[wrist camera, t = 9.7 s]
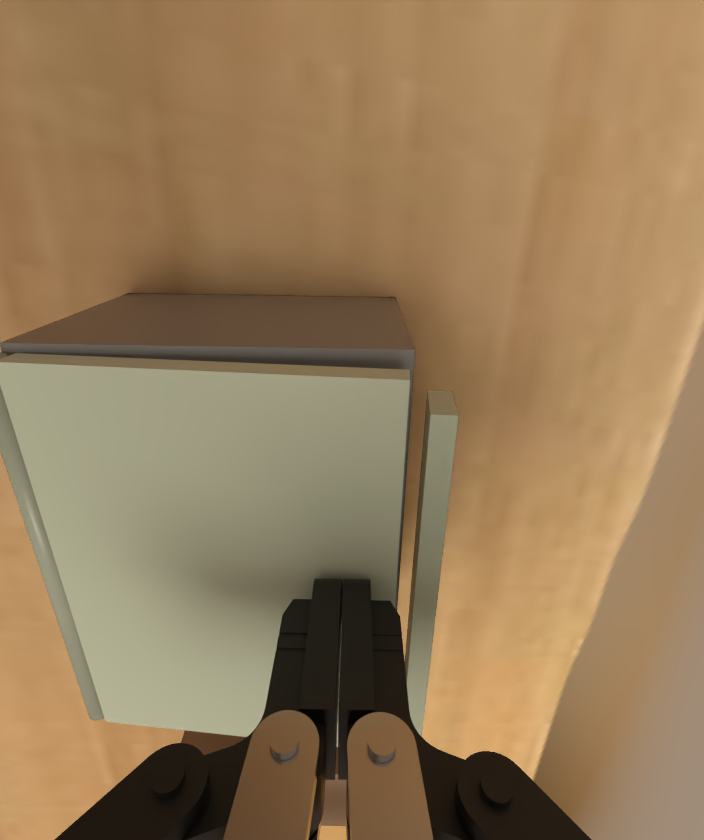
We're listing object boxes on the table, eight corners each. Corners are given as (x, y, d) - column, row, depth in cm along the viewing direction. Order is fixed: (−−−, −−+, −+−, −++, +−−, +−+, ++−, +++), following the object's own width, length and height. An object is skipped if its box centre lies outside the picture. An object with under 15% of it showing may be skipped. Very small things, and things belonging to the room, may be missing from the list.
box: (128, 293, 18) (-1, 343, 11) (395, 297, 18) (415, 349, 11) (177, 565, 23) (107, 701, 17) (382, 569, 23) (390, 708, 17)
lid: (14, 341, 12) (-38, 360, 11) (455, 359, 11) (463, 382, 10) (110, 676, 18) (84, 719, 16) (418, 707, 17) (419, 756, 15)
